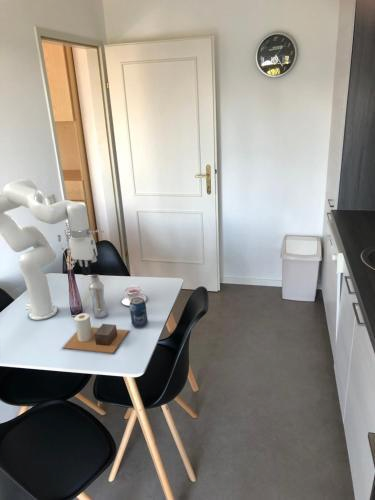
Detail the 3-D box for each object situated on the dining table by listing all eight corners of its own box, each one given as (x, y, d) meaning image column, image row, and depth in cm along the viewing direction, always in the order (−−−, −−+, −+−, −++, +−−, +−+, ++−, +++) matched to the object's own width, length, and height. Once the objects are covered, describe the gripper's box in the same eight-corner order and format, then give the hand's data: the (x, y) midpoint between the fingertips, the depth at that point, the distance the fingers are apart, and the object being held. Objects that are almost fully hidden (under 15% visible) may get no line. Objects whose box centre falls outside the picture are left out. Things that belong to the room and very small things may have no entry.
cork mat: (63, 348, 170) (63, 347, 170) (82, 327, 184) (81, 326, 184) (113, 353, 164) (113, 352, 164) (128, 331, 179) (128, 330, 179)
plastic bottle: (105, 319, 190) (99, 279, 182) (91, 319, 191) (84, 279, 184) (110, 312, 195) (104, 273, 188) (97, 311, 197) (90, 273, 190)
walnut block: (95, 344, 170) (94, 334, 168) (104, 334, 177) (102, 323, 176) (109, 346, 169) (107, 335, 167) (117, 335, 176) (115, 324, 174)
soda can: (136, 330, 179) (133, 306, 175) (129, 324, 184) (126, 299, 180) (150, 325, 182) (148, 301, 178) (143, 319, 188) (140, 295, 184)
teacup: (144, 306, 199) (143, 294, 197) (119, 307, 200) (118, 295, 197) (147, 294, 210) (146, 283, 208) (123, 295, 211) (122, 284, 209)
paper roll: (81, 347, 174) (63, 326, 173) (88, 339, 179) (70, 318, 178) (97, 336, 169) (79, 314, 168) (104, 328, 175) (86, 307, 173)
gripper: (101, 230, 172) (106, 271, 178) (68, 229, 175) (75, 269, 182) (92, 236, 165) (99, 278, 172) (59, 235, 169) (66, 276, 175)
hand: (86, 274), depth 177 cm, fingers closed
